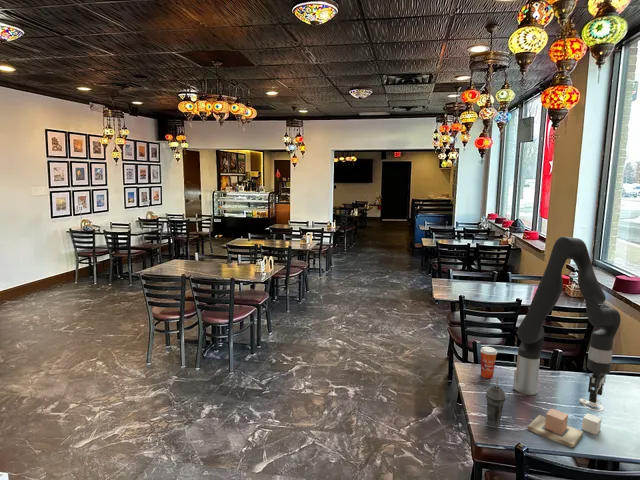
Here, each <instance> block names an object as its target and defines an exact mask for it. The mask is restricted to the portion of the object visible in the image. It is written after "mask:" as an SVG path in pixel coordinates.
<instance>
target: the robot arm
mask: <svg viewBox="0 0 640 480" xmlns="http://www.w3.org/2000/svg"><path fill="white" fill-rule="evenodd" d="M549 255H550V256H549V259H548V262H547V265H546V267H545V270H544V272H543V274H542V277H541V280H540V282H539V284H538V286H537V288H536V290H535V292H534V295H533V297H532V300H531V302H530V305H529V308H528V311H527V313H526V315H525V317H524V318H523V320H522V322H521V323H520V325H518V328H517V337H518V339H519V340H520V345H519V346H518V347H517V348H518V349H517V359H516V368H515V369H514V375H513V385H512V389H513V390H515V391H516V392H518V393H520V394H523V395H526V396H534V395H536V394H537V391H538V382H539V381H538V380H539V372H540V361H541V354H542V351H543V347H544V340H545V329H544V327H543V324H544V321H545V319H546V318H547V316H548V315H549V314H550V312H551V311H552V310H553V309H554V307H555V306H556V304H557V303H558V301H559V299H560V296H561V294H562V292H563V290H564V283H563V277H562V274H563V273H562V272H563V268H564V266H565V263H566V262H567V260H572V261H573V262H574V264H575V265H576V267H577V271H578V277H577V284H578V288H579V291H580V293H581V296H582V297H583V300H584V303H585V308H586V315H587V316H586V317H587V320H588V322H589V323H590V324H591V326H594V327H596V328H599V329H598V330H594V331H593V332H592V333H591V336H590V345H589V349H588V356H587V365H586V367H587V369H588V370H589V371H591V372H592V373H591V374H590V377H589V380H588V381H589V382H588V389H587V392H588V393H589V397H588V401H590V402H593V403H596V399H597V398H598V396H602V395H603V388H604V386H605V384H606V377H607V375H608V374H610V373H611V369H612V360H613V342H614V338H615V337H616V334H617V331H618V329H619V328H620V325H621V320H622V319H621V314H620V312H619V311H618V310H617V309H616V308H613V307H600V305H601V304H603V303H604V302H605V301H606V300H607V298H606V295H605V292H603V289H602V287H601V285H600V283H599V281H598V279H597V276H596V274H595V271H594V266H593V265H592V263H593V262H592V261H591V258H590V254H589V251H588V248H587V245H586V243H585V242H584V240H582V239H581V238H579V237H572V236H571V237H570V236H561V237H559V238H557V239H556V240H555V242H554V244H553V247H552V250H551V252H550V254H549ZM593 388H594V389H593Z"/></svg>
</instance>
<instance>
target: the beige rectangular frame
mask: <svg viewBox="0 0 640 480" xmlns="http://www.w3.org/2000/svg"><path fill="white" fill-rule="evenodd" d="M545 419H546V416H544V415H541V414H538V416H536V417H535V418H534V419H533V420H532V421H531V422H530V423H529V424H528V425H527V430H529V431H530V432H532V433H535V434H537V435H540V436H542V437H544V438H546V439H550V440H551V441H554V442H557V443H560V445H561V444H562V445H563V444H564V446H566V445H567V446H566V447H568V446H570V447H569V448H571V447H576V445H577V444H578V443H579V441H580V440H581V438H582V437H583V435H584V431H583V430H580V429H577V428H574V427H572V426H569V425H567V429H566V430H565V431H564V433H563V434H562V435H560V434H558V433H555V432H553V431H550V430H548V429H545Z"/></svg>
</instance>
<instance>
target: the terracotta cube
mask: <svg viewBox="0 0 640 480" xmlns="http://www.w3.org/2000/svg"><path fill="white" fill-rule="evenodd" d="M545 417H546V419H545V429H548V430H550V431H553V432H555V433H558V434H560V435H562V434H563V433H564V431H565V430H566V429H567V426H568V418H569V414H568V413H565V412H563V411H559V410H558V409H555V408H550V409H549V410H548V411H547V412H546V413H545Z"/></svg>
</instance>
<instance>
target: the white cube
mask: <svg viewBox="0 0 640 480" xmlns="http://www.w3.org/2000/svg"><path fill="white" fill-rule="evenodd" d="M601 424H602V418H601V417H600V416H597V415H594V414H591V413H586V414H585V415H584V416H583V418H582V426H581V430H582V431H583V430H584V432H585V431H586V432H588V433H591V434H594V435H598V434H599V432H600V431H601V428H602V427H601V426H602V425H601Z"/></svg>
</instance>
